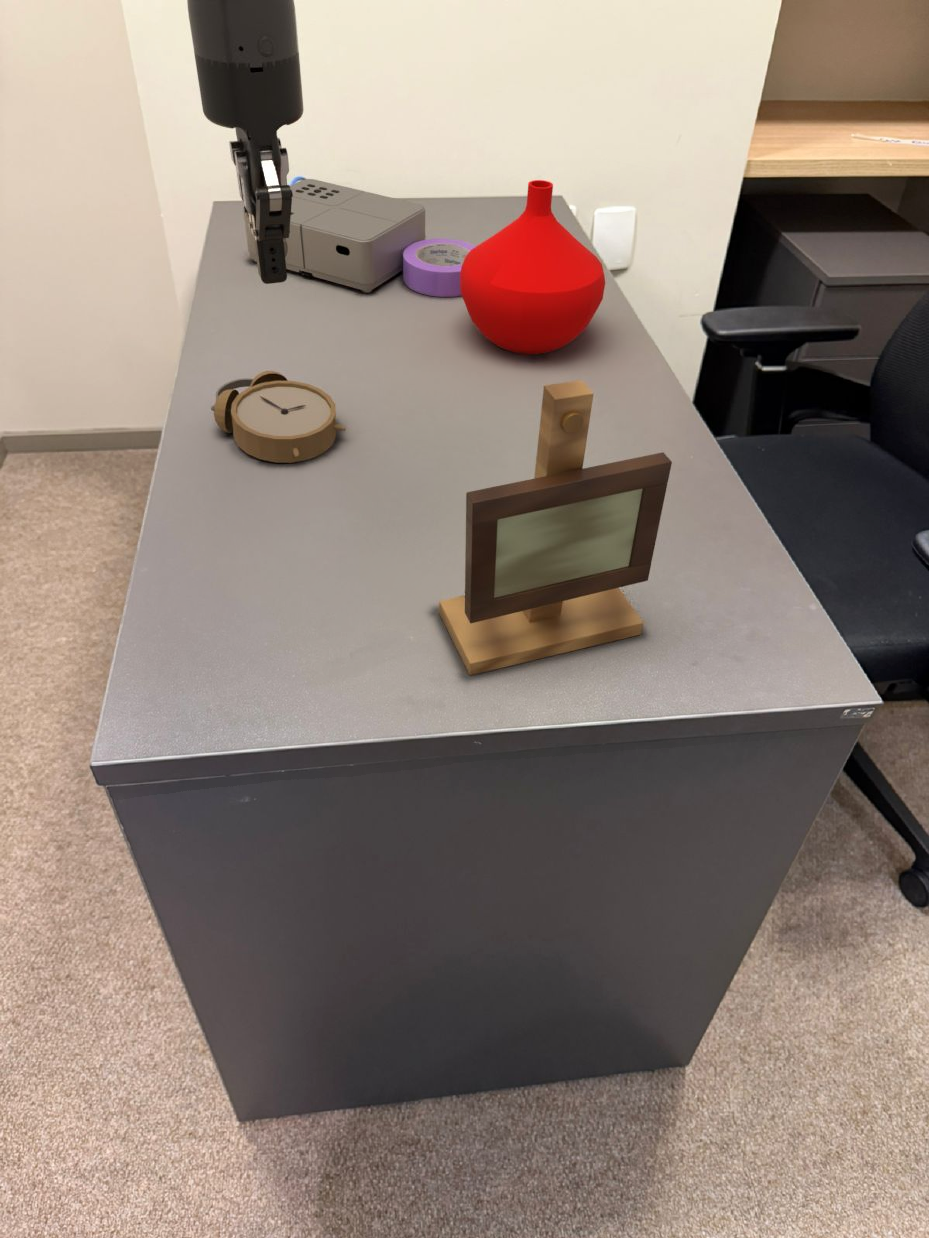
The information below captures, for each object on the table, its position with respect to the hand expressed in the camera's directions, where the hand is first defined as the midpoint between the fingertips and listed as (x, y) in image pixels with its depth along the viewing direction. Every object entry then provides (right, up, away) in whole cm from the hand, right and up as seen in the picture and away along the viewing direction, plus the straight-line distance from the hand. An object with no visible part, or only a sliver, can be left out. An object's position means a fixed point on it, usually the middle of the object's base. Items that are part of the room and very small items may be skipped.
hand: (273, 279), depth 77 cm
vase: (+25, +8, +42) cm, 49 cm away
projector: (-3, +25, +58) cm, 63 cm away
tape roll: (+13, +20, +54) cm, 59 cm away
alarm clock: (-5, -8, +23) cm, 25 cm away
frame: (+24, -27, -3) cm, 37 cm away
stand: (+23, -30, +2) cm, 38 cm away
